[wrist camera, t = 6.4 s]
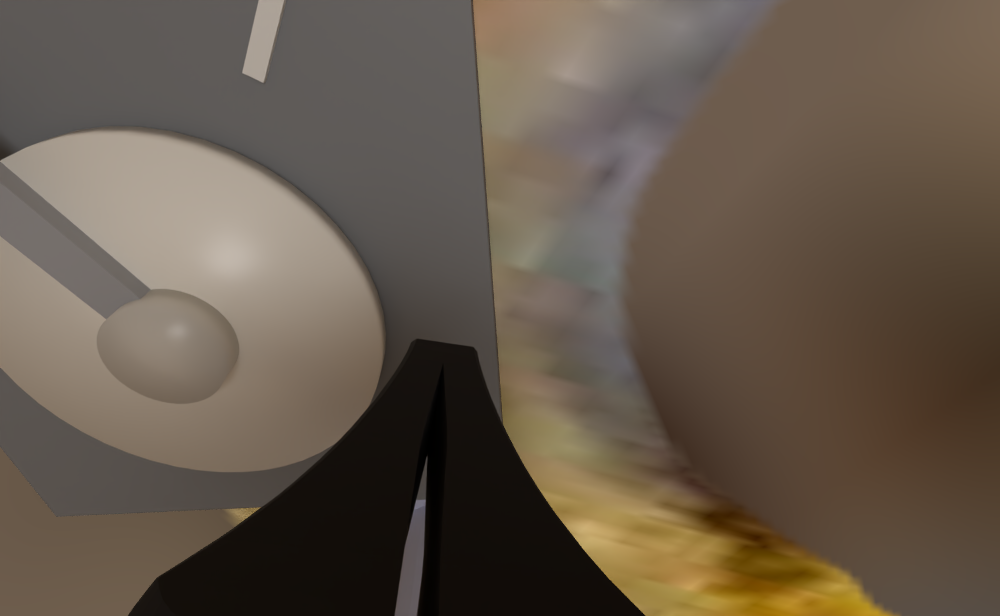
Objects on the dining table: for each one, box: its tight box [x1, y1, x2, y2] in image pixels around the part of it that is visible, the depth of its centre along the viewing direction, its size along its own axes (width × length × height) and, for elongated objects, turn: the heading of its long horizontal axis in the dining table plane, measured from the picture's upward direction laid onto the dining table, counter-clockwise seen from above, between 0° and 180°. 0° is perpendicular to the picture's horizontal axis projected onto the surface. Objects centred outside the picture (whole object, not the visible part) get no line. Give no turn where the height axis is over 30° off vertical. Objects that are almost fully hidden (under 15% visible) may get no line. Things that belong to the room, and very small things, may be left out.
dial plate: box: [0, 0, 503, 517], centre depth 20 cm, size 22×22×2 cm
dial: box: [0, 126, 386, 472], centre depth 17 cm, size 17×14×5 cm
